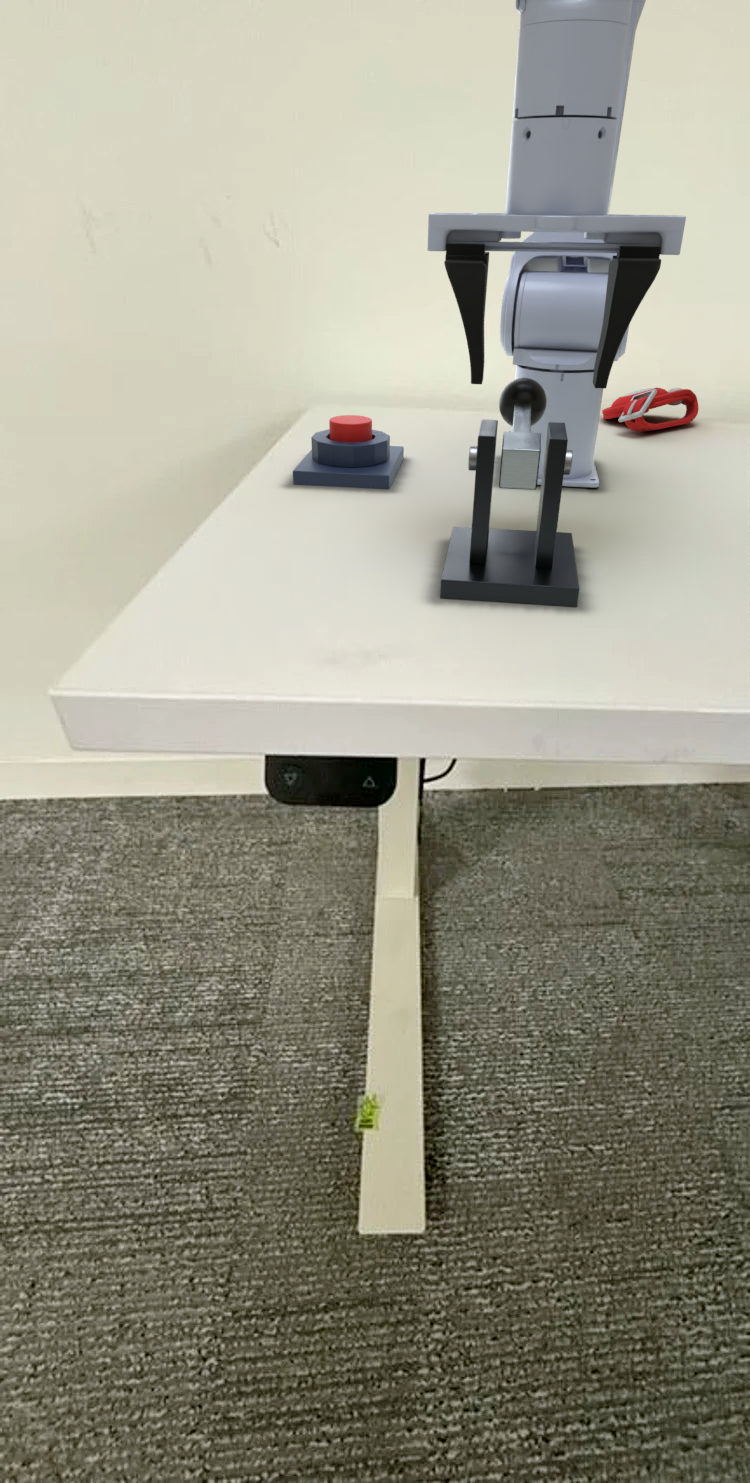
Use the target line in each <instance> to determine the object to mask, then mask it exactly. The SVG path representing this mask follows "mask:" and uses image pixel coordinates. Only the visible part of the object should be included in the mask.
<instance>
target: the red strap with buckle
mask: <svg viewBox="0 0 750 1483" xmlns="http://www.w3.org/2000/svg"><path fill="white" fill-rule="evenodd" d="M667 405H668V406H678V405H683V406H685V408H686V409H685V410H686V411H685V414H684V416H683V417H681V418H677V419H673V420H668V421H663V422H658V423H652V422H648V421H646V419H645V417H644V414H646V413H648V412H649V411H650V410H652V409H657V408H659V407H664V406H667ZM601 412H602V417H603V418H602V419H603V420H610V419H616V418H618V422H619V423H623V422H624V423H625V425H626V427H627V428H628V429H630V431H634V432H639V433H642V432H650V431H656V430H662V429H666V428H671V427H676V426H681V425H686V424H689V423H692V422H693V421H694V420H695V419H696V418H697V416H698V413H699V402H698V398H697V395H696V394H695V393H694V392H693V391H692V390H691V389H690V388H689V389H688V388H685V389H684V388H682V387H674V388H670V389H669V390H666V389H664V388H661V387H649V388H642V389H637V390H634V391H631V392H628V393H626V394H624V395H622V396H619V397H618V398H617V399H614V401H613V402H612V403H611V405H610V406H609V407H606V408H604V409H602V410H601Z"/></svg>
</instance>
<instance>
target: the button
mask: <svg viewBox="0 0 750 1483" xmlns="http://www.w3.org/2000/svg"><path fill="white" fill-rule="evenodd" d="M328 422H329V429H330V440H333V441H338V442H364V441H369V440H372V430H373V420H372V418H371V417H368V416H364V415H356V414H355V415H354V414H345V415H344V414H343V415H336V416H333V417H330V418H329V420H328Z"/></svg>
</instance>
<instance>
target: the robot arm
mask: <svg viewBox="0 0 750 1483" xmlns="http://www.w3.org/2000/svg"><path fill="white" fill-rule="evenodd" d="M646 1H647V0H515V10H516V12H518V14H519V18H520V19H519V29H518V36H517V50H516V51H517V52H516V64H515V77H514V78H515V79H514V90H513V103H512V104H513V105H512V106H513V107H512V120H511V129H510V130H511V131H510V143H509V144H510V147H509V159H508V171H507V172H508V173H507V184H506V197H505V198H506V200H505V212H430V213H428V220H427V221H428V223H427V224H428V226H427V251H428V252H445V256H444V257H445V260H444V262H443V263H444V268H445V271H446V275H447V277H448V280H449V282H450V285H451V288H452V291H453V294H454V298H455V300H456V303H457V307H458V310H459V314H460V317H461V320H462V325H463V329H464V333H465V338H466V344H467V350H468V358H469V363H470V364H469V366H470V384H471V385H483V381H484V372H485V316H486V301H487V291H488V290H487V289H488V276H489V275H488V274H489V262H490V252H513V253H512V255H511V258H510V265H509V270H508V276H507V278H506V280H505V284H504V289H503V294H502V299H501V308H500V320H499V322H500V323H499V342H500V347H501V348H502V350H503V351H504V353H505V355H506V356H507V357H512V365H513V366H515V374H514V380H516V379H519V378H529V379H533V380H535V381H536V382H538V383H539V384H540V385H541V386H542V388H543V389H544V391H545V394H546V400H547V403H546V409H545V412H544V414H543V416H542V417H541V419H540V420H539V421H538V422H537V423H535V424H534V425H532V426H531V433H540V434H541V453H540V462H539V471H538V480H537V486H541V483H542V474H543V465H544V455H545V446H546V437H547V428H548V422H557V423H565V427H566V433H567V438H568V443H567V450H572V451H573V458H572V467H571V473H570V475H564V476H563V484H562V487H571V488H572V487H573V488H599V487H600V479H599V474H598V470H597V468H596V463H595V460H594V458H595V450H596V444H597V438H598V437H597V436H598V430H599V422H600V416H601V408H602V402H603V401H602V400H603V395H604V389H607V386H608V381H609V378H610V374H611V370H612V369H613V368H612V367H613V365H614V362H618V361H619V359H620V358H621V357H622V356H623V355H625V353H626V349H627V342H628V335H629V329H630V324H631V322H632V320H633V318H634V316H635V314H636V312H637V310H638V309H639V307H640V305H641V303H642V302H643V300H644V298H645V297H646V294H647V293H648V292H649V290H650V288H651V286H652V284H653V283H654V281H655V280H656V277H657V276H658V273H659V271H660V269H661V266H662V259H661V258H660V256H661V255H662V256H679V255H680V254H681V249H682V243H683V237H684V232H685V226H686V222H687V221H686V220H687V216H685V215H678V214H677V215H675V214H674V215H673V214H672V215H671V214H670V215H668V214H667V215H666V214H665V215H664V214H613V213H612V214H610V208H611V202H612V196H613V195H612V194H613V188H614V181H615V174H616V168H617V161H618V154H619V147H620V141H621V140H620V139H621V134H622V128H623V127H622V126H623V120H624V114H625V113H624V112H625V106H626V99H627V91H628V88H629V87H628V86H629V80H630V73H631V66H632V59H633V54H634V53H633V51H634V45H635V40H636V39H635V38H636V33H637V28H638V25H639V22H640V19H641V16H642V12H643V10H644V7H645V4H646ZM522 233H531V234H529V235H528V236H526V237H525V238H524V239H523V240H521V241H506V240H512V239H513V240H516V239H517V240H518V239H521V238H522ZM502 239H503V241H502ZM505 239H506V240H505ZM504 240H505V241H504ZM512 430H513V426H511V425H510V431H509V432H512Z"/></svg>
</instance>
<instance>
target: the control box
mask: <svg viewBox="0 0 750 1483" xmlns="http://www.w3.org/2000/svg"><path fill="white" fill-rule="evenodd" d="M310 438H311V449H310V451H309V452H308V453H306V455H305V456H304V457H303V459H302V460H301V461H300V462H299V463H298V464H297V465H296V467H295V468H294V469H293V471H292V485H293V486H312V487H313V486H314V487H330V488H331V487H333V488H354V489H372V490H390V488H391V487H392V484H393V482H394V480H395V478H396V476H397V473H398V471H399V469H400V467H401V465H402V464H403V461H404V453H405V452H404V451H405V450H404V449H405V448H404V446H400V445H391V435H389V434H387V433H386V432H384V431H382V430H377V429H372V440H369V441H364V442H338V441H333V440H330V428H329V429H325V430H320V431H316V432H315V433H314V434H313V435H312V436H311V437H310Z"/></svg>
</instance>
